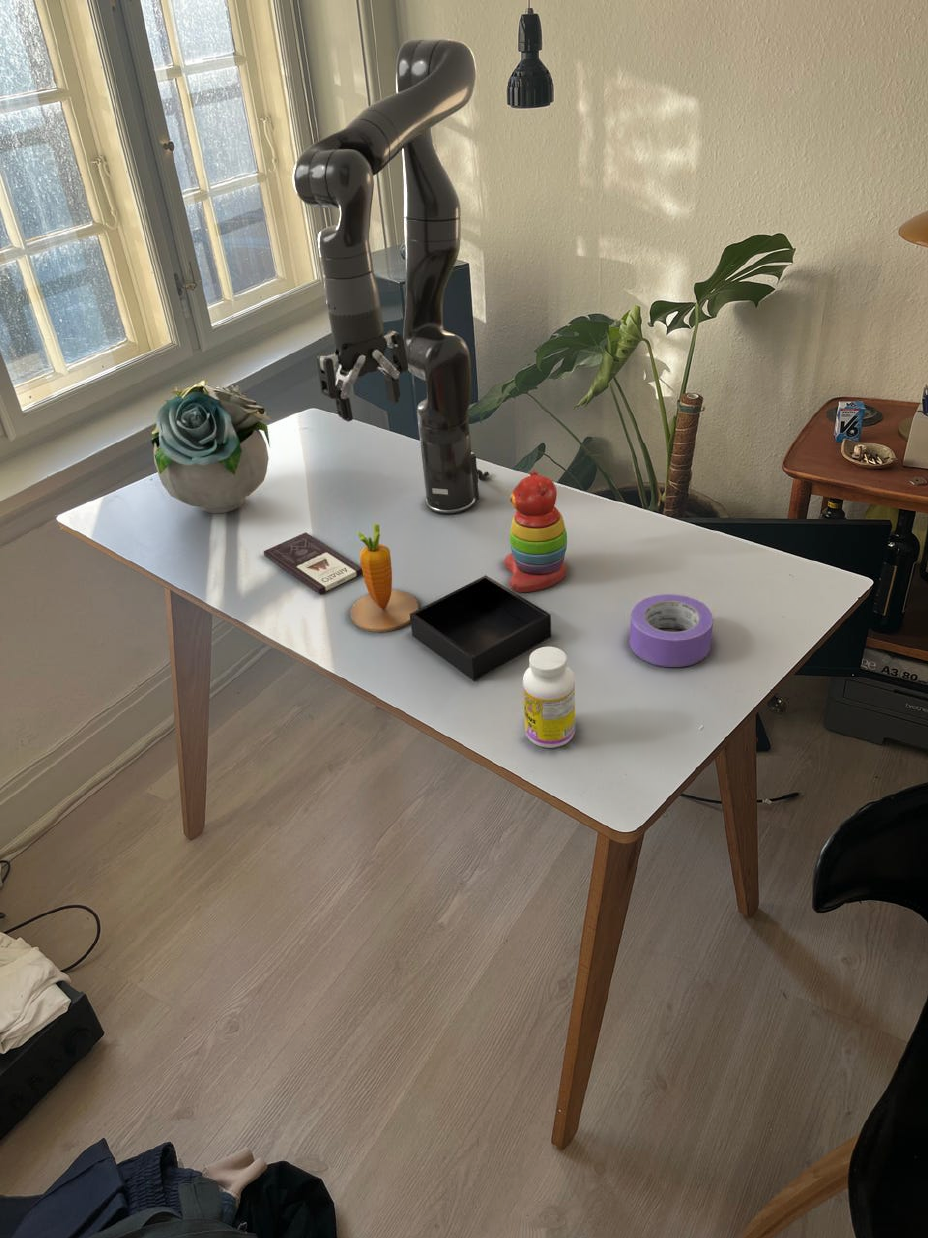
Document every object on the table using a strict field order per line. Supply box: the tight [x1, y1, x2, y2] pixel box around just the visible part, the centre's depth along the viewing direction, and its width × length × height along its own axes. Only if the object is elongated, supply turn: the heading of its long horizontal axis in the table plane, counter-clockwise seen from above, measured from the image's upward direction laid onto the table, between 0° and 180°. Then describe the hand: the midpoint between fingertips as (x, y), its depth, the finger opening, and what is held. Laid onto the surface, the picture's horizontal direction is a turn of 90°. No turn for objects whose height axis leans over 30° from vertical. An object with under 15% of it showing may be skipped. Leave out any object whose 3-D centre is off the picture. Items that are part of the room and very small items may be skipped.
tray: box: [410, 574, 552, 682], centre depth 139 cm, size 15×15×4 cm
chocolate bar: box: [263, 531, 363, 595], centre depth 161 cm, size 9×1×18 cm
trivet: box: [349, 589, 420, 633], centre depth 148 cm, size 11×11×1 cm
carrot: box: [357, 523, 393, 609], centre depth 143 cm, size 5×5×15 cm
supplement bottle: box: [522, 646, 576, 749], centre depth 118 cm, size 7×7×13 cm
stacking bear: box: [504, 470, 568, 593], centre depth 148 cm, size 11×10×18 cm
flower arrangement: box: [150, 378, 272, 514], centre depth 175 cm, size 25×25×24 cm
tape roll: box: [629, 593, 714, 668], centre depth 134 cm, size 12×12×5 cm
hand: (370, 410), depth 140 cm, fingers open, 8 cm apart
